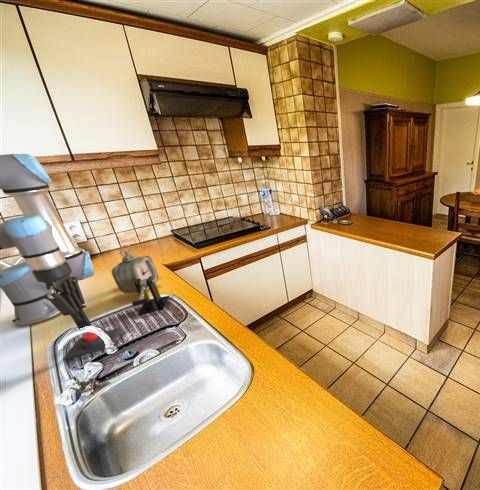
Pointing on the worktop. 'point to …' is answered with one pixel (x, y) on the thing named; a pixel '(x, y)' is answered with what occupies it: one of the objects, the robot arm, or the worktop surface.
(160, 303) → the bracket
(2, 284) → the robot arm
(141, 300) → the lever
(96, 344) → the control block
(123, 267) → the tabletop clock
